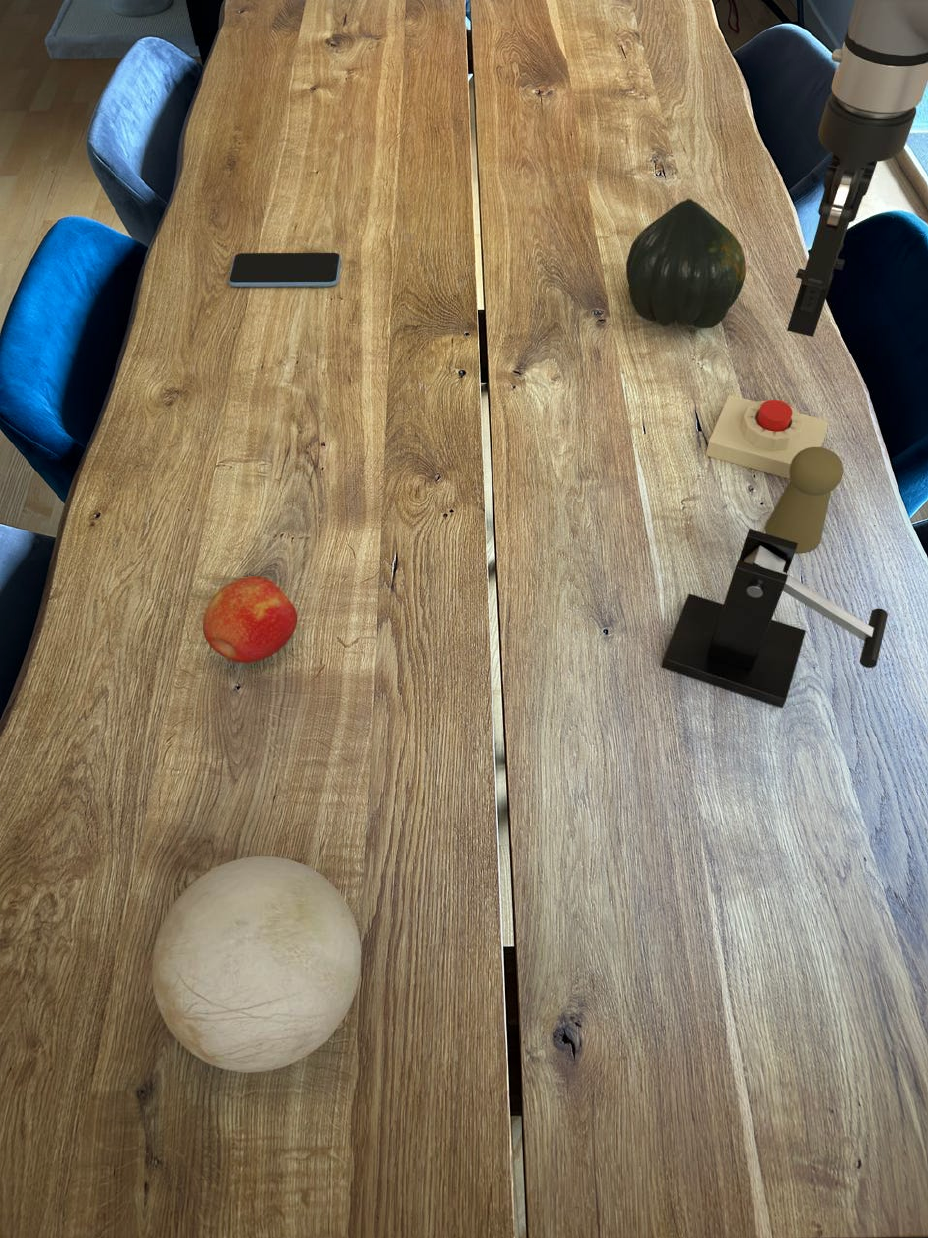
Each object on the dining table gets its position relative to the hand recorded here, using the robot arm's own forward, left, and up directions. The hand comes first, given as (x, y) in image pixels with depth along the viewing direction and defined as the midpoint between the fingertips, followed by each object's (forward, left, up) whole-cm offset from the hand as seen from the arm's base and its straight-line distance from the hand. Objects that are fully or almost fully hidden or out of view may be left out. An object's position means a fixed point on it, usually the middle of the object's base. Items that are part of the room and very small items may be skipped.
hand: (801, 327), depth 106 cm
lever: (-9, +31, -7) cm, 33 cm away
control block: (0, 0, -16) cm, 16 cm away
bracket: (-4, +31, -16) cm, 35 cm away
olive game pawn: (-6, +12, -17) cm, 22 cm away
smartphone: (+69, -8, -16) cm, 71 cm away
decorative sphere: (+21, +78, -17) cm, 82 cm away
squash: (+17, -21, -17) cm, 32 cm away
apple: (+40, +49, -17) cm, 65 cm away
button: (0, 0, -13) cm, 13 cm away
